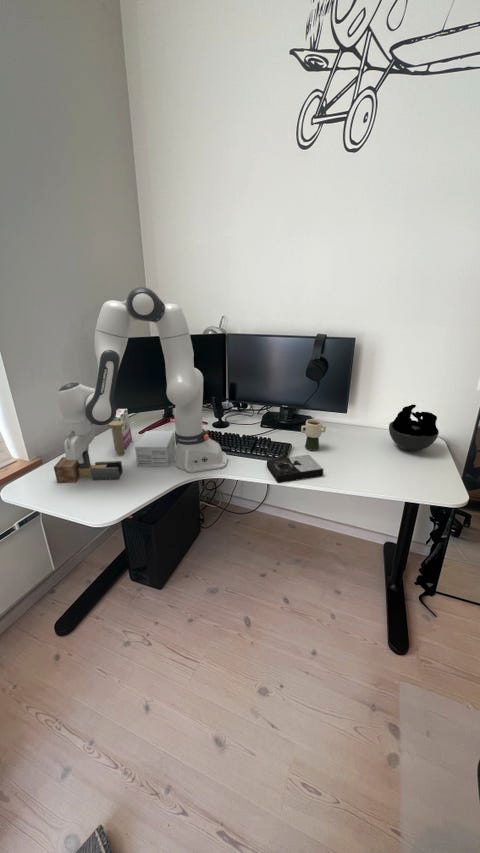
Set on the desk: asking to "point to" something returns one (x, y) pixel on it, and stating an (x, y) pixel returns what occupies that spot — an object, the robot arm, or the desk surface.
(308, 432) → the character mug
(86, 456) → the tan bar
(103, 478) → the sleeve channel
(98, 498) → the desk surface
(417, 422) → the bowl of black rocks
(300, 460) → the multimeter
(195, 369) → the robot arm
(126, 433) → the candy bar box
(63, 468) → the socket block
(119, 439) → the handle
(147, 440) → the supplement box
